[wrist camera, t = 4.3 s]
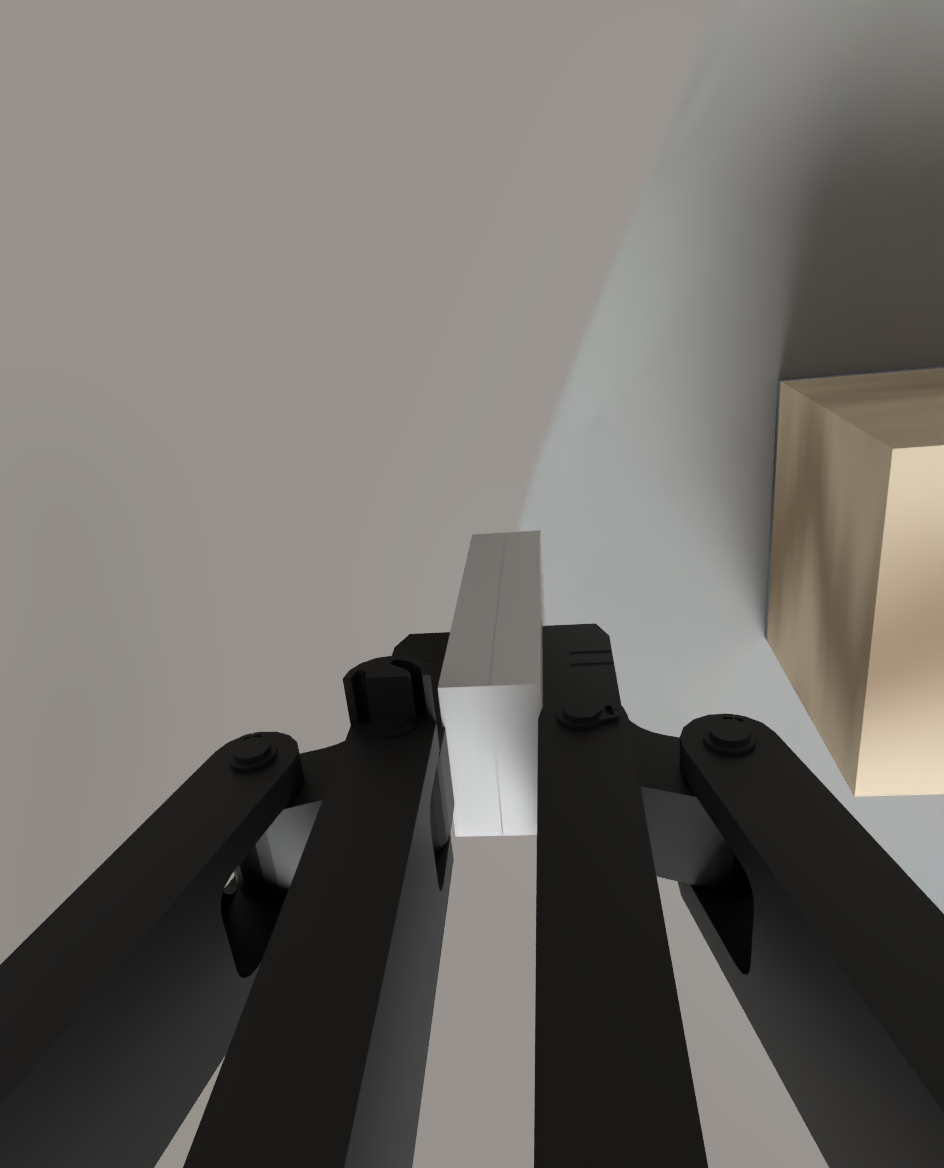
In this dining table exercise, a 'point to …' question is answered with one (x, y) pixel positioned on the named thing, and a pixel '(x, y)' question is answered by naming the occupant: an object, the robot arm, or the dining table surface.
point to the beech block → (863, 570)
